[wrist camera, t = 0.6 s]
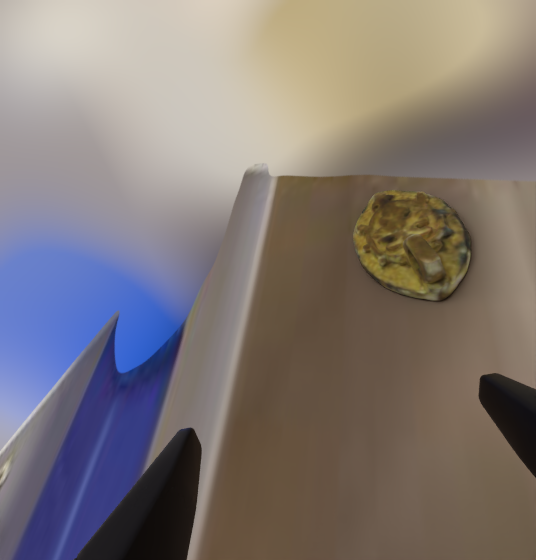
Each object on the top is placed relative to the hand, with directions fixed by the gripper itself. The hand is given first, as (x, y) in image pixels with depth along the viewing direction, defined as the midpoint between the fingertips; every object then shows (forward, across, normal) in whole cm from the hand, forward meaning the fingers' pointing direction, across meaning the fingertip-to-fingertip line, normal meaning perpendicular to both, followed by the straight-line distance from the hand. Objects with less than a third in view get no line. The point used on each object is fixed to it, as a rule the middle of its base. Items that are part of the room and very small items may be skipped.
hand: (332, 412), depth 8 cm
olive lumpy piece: (+20, -12, +2) cm, 23 cm away
